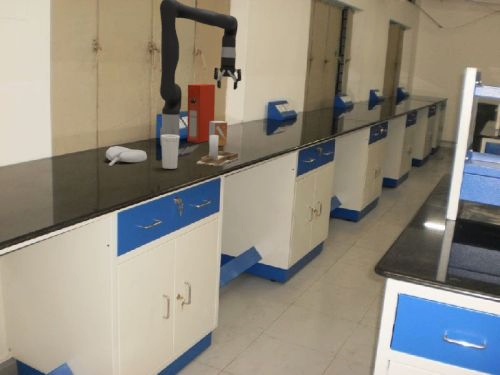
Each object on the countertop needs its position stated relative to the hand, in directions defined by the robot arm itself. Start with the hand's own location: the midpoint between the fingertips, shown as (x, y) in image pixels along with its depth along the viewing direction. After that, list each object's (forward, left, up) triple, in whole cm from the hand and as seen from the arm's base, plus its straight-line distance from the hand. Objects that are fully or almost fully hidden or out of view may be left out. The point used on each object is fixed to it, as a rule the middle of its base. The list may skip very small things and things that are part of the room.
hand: (227, 88), depth 282 cm
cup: (-4, -55, -32) cm, 64 cm away
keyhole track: (+8, -29, -32) cm, 44 cm away
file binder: (-24, +22, -32) cm, 46 cm away
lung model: (-29, -53, -33) cm, 69 cm away
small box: (-10, +14, -32) cm, 37 cm away
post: (+8, -34, -31) cm, 47 cm away
